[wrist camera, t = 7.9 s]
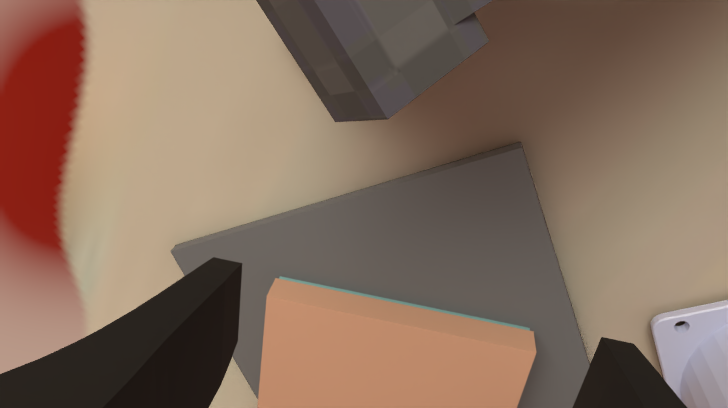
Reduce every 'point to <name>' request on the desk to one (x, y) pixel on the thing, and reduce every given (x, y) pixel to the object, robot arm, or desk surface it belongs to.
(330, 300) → the tile
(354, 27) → the handgun
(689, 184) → the desk surface
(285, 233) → the mat
